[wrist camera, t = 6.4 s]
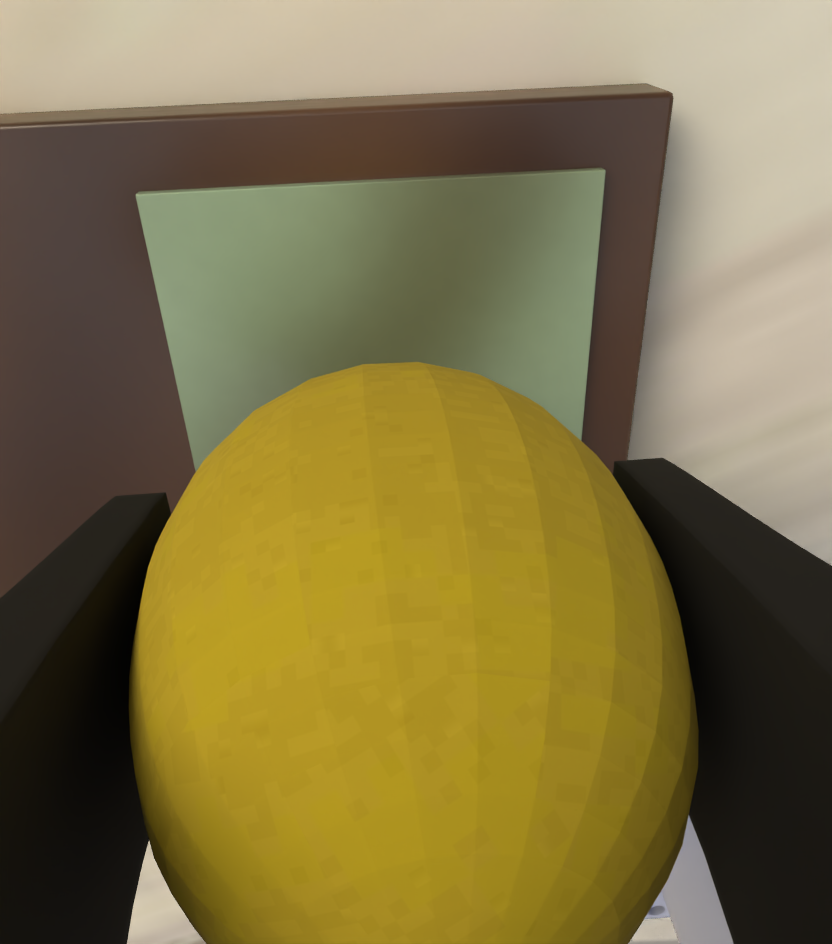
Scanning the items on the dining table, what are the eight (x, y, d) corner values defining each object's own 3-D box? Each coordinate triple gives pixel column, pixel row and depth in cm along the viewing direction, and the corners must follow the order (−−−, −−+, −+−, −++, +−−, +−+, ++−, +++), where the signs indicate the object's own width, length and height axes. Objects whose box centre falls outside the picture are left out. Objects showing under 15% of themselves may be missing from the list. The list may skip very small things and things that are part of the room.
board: (649, 82, 12) (681, 93, 11) (577, 720, 20) (592, 765, 19) (-681, 145, 12) (-798, 163, 10) (-213, 786, 20) (-249, 838, 18)
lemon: (312, 635, 14) (301, 1274, 7) (114, 380, 11) (-232, 1044, 4) (610, 508, 13) (925, 1094, 6) (481, 195, 10) (809, 644, 3)
